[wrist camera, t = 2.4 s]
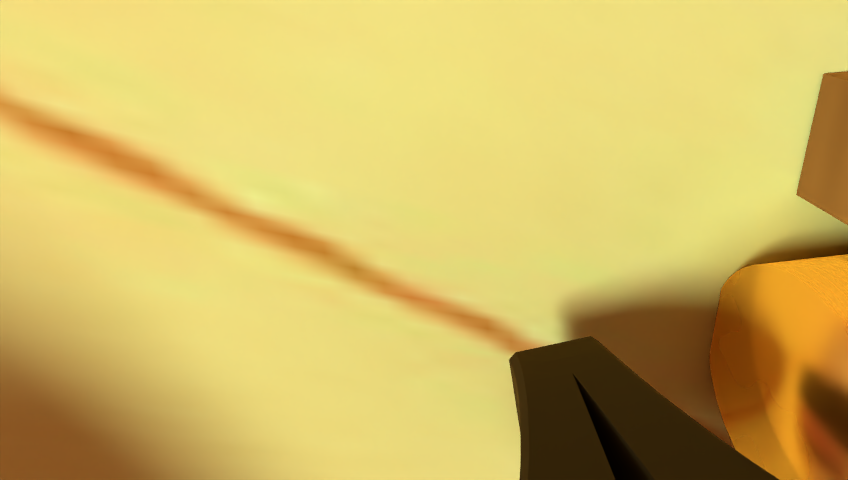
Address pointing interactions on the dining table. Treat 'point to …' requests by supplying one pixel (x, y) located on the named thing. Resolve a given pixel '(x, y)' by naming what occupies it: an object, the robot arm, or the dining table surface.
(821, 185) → the parallel wooden rails
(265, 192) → the dining table surface
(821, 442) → the axle
